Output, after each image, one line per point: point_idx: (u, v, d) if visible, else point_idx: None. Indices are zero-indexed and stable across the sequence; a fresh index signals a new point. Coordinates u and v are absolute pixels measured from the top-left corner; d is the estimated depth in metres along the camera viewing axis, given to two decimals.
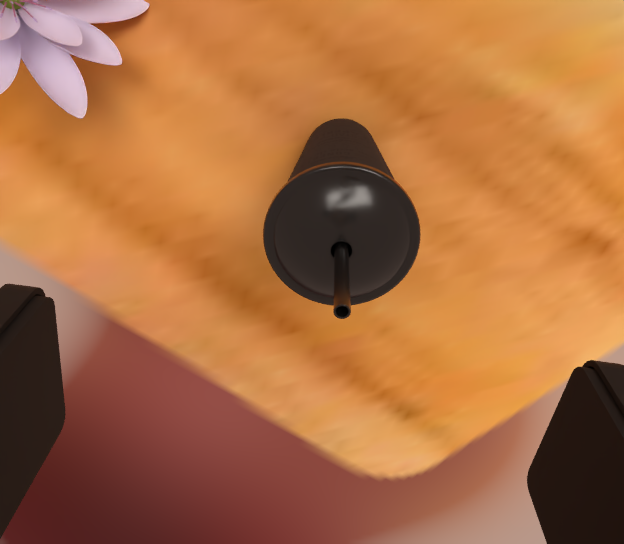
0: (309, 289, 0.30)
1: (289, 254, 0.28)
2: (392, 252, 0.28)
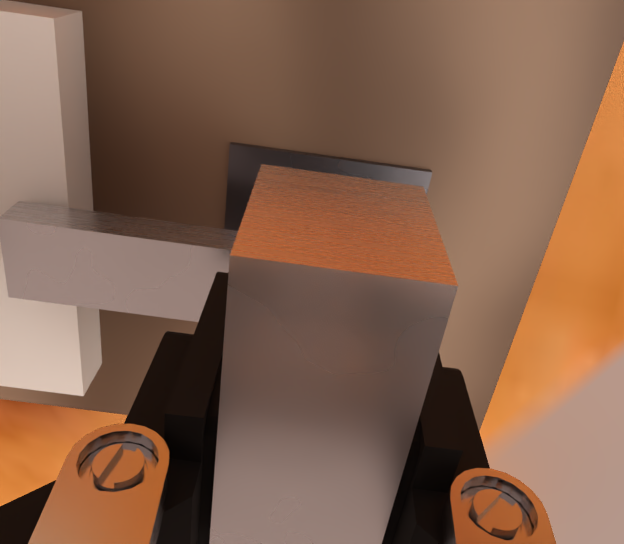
0: None
1: None
2: None
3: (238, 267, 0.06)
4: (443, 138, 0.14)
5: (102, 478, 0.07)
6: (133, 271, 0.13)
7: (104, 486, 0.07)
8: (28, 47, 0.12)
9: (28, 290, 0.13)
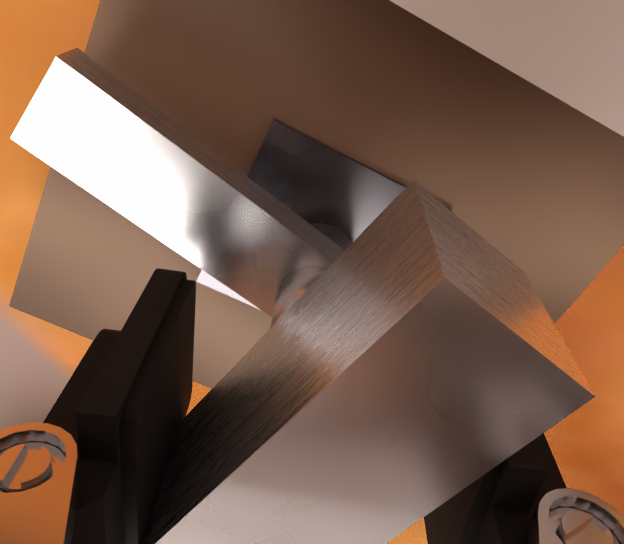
0: None
1: None
2: None
3: (443, 291, 0.06)
4: None
5: (7, 480, 0.07)
6: (164, 185, 0.12)
7: (10, 488, 0.07)
8: None
9: (38, 144, 0.12)
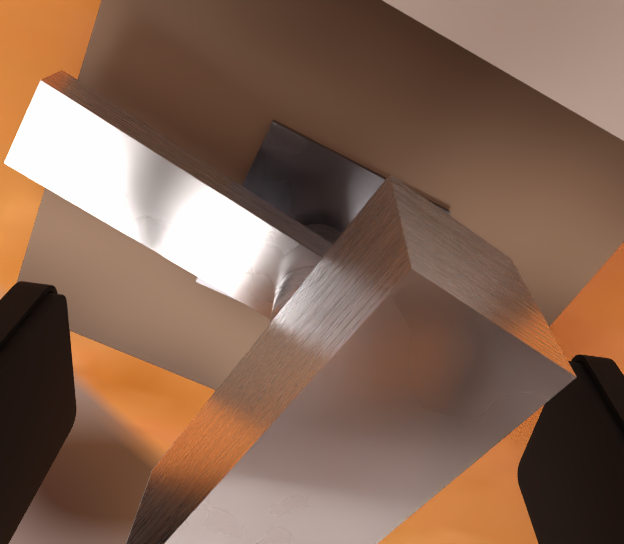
0: None
1: None
2: None
3: (411, 282, 0.06)
4: None
5: None
6: (155, 197, 0.12)
7: None
8: None
9: (31, 166, 0.12)
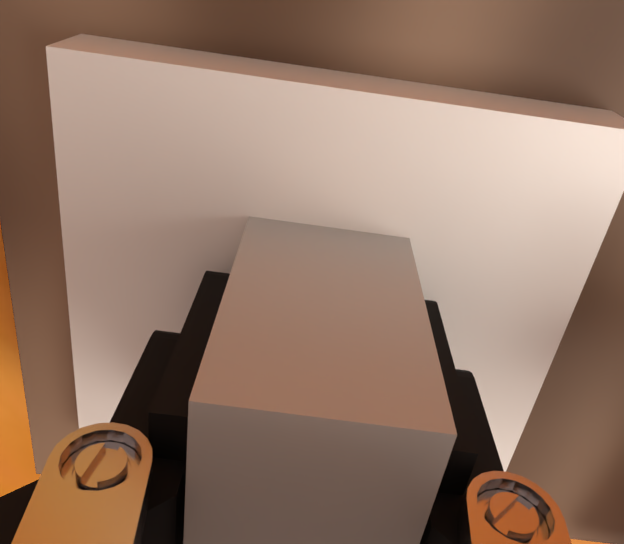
0: None
1: None
2: None
3: None
4: None
5: (85, 477, 0.07)
6: None
7: (87, 485, 0.07)
8: (600, 164, 0.10)
9: None
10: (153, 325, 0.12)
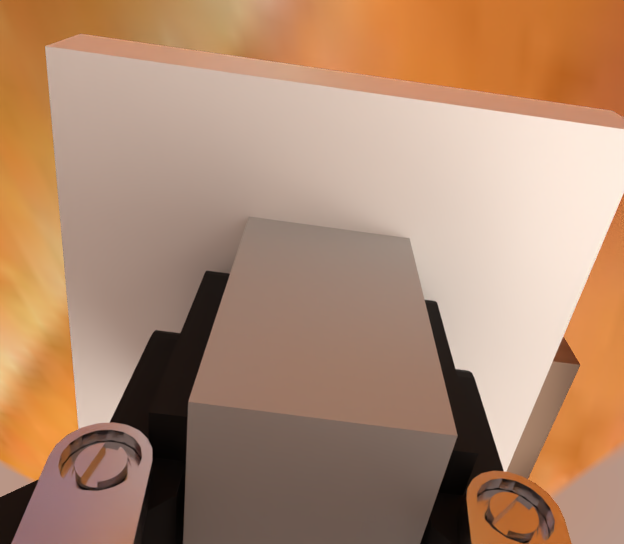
0: None
1: None
2: None
3: None
4: None
5: (84, 477, 0.07)
6: None
7: (87, 485, 0.07)
8: (601, 164, 0.10)
9: None
10: (154, 325, 0.12)
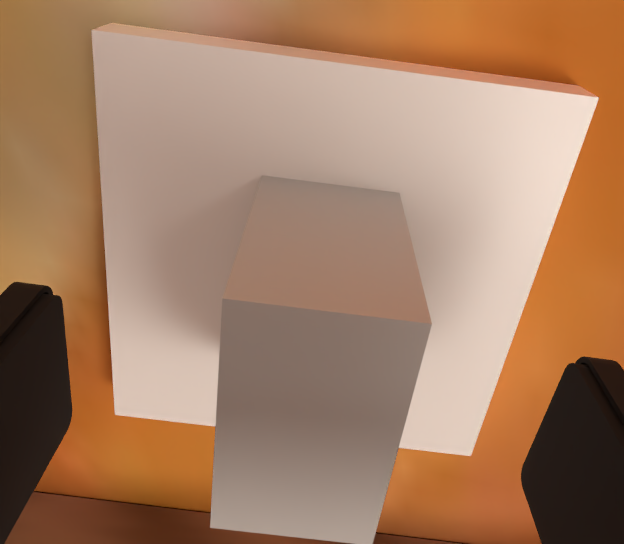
0: None
1: None
2: None
3: None
4: None
5: None
6: None
7: None
8: (560, 125, 0.12)
9: None
10: (179, 274, 0.14)
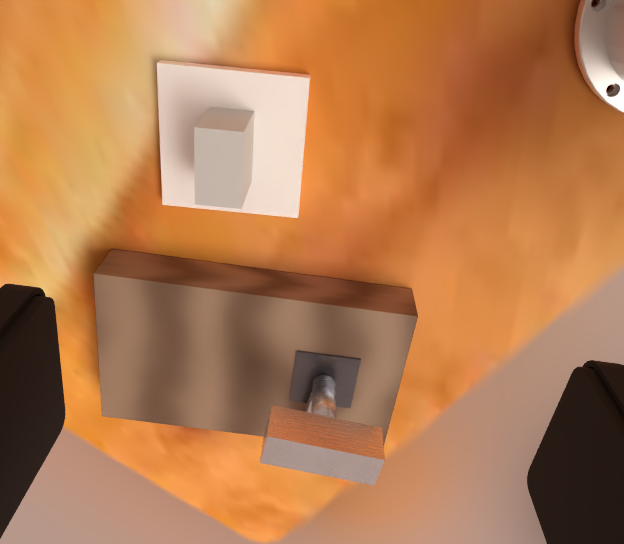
0: None
1: None
2: None
3: (262, 462, 0.39)
4: (363, 350, 0.45)
5: None
6: None
7: None
8: (300, 87, 0.38)
9: None
10: (185, 144, 0.41)
